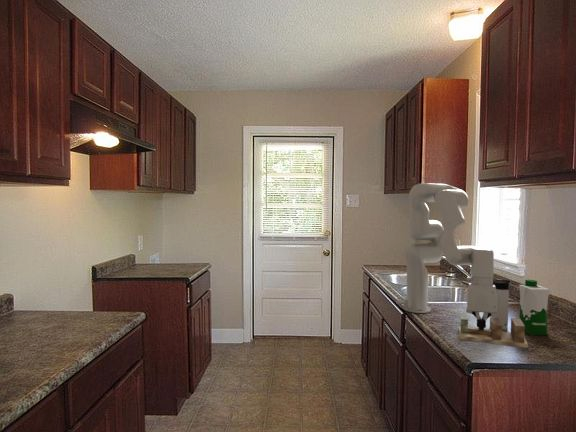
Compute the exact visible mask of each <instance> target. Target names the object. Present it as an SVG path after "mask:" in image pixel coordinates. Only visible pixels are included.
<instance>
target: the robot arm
mask: <svg viewBox="0 0 576 432" xmlns="http://www.w3.org/2000/svg"><path fill="white" fill-rule="evenodd" d="M469 201H470V200H469V196H468V194H467V193H466V192H465V191H464V190H463V189H460V188H458V187H455V186H452V185H449V184H446V183H427V182H425V183H424V182H423V183H417V184H415V185H413V186H412V188H411V189H410V191H409V194H408V202H409V209H410V210H409V211H410V212H409V213H410V215H409V236H410V238H411V239H412V240H415V241H427V242H414V243H410V244H409V245H407V246H406V248H405V249H404V253H405V254H404V255H405V256H404V257H405V262H406V263H405V264H406V296H405V299H401V298H400V299H399V298H397V299H396V304H398V305H402V310H404V311H406V312H408V313H409V312H410V313H413V314H414V313H415V314H427V313H430V312H432V311H431V310H432V308H431V307H430V306H428V294H429V289H428V288H429V271H428V269H427V267H426V265H425V264H431V263H432V264H433V263H434V264H435V263H438V262H439V261H441V259H442V257H443V255H444V257H445V260H446V261H447V263H449V264H450V265H452V266H470V267H471V270H470V273H471V274H470V276H467V277H466V281H469V282H470V283H468V287H467V292H466V293H467V295H466V308H465V312H466V313H468V314H470V315H473V316H474V317H475V319H476V328H479V330H481V329H482V330H483V331H484V329H487V320H488V319H490V316H495V315H497V292H496V287H495V285H493V281H494V261H495V259H494V251H493V250H492V249H490V248H485V247H484V248H483V247H480V246H479V247H478V246H476V245H475V246H474V245H457V244H456V242H455V238H454V237H455V236H454V234H455V233H454V232H455V231H456V230H457V229H459V228H460V227H462V226H464V225H465V222H466V219H465V217H464V215H463V211H462V210H464V209H466V208H467V207H468V205H469ZM427 203H435V206H436V209H437V213H438V214H439V217H440V219H441V222H440V221H438V220H435V219H430V209H429V207H428V205H427ZM442 224H443V225H442ZM480 313H482V317H481V316H480Z"/></svg>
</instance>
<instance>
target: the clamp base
mask: <svg viewBox="0 0 576 432" xmlns="http://www.w3.org/2000/svg"><path fill="white" fill-rule="evenodd" d="M460 326H461V325H460ZM460 326H458V332H459V339H460V340H467V341H473V342H479V343H480V342H481V343H488V344H494V345H495V344H496V345H504V346H510V347H511V346H512V347H518V348H525V349H526V348H527V349H528V348H529V344H528V341H527V339H526V338H525V334H526V332H525V326H524V324H523V323H522V321H521V319H519V318H515V317H511V318H510V332H508V331H505V332H502V336H501V339H494V338H492V336H491V335H487V334H479V333H471V332H468V333H465V332H461V329H460Z"/></svg>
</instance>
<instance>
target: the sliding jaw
mask: <svg viewBox="0 0 576 432" xmlns="http://www.w3.org/2000/svg"><path fill="white" fill-rule="evenodd" d="M460 329H461V332H465V333H468V332H471V333H479V334H487V335H491V336H492V338H494V339H501V336H502V325H501V323H500V320H499V318H492V317H489V328H484V331H483V330H482V329H481V330H479V327H475V326H474V327H473V326H469V317H468V316H465V315H461V316H460Z"/></svg>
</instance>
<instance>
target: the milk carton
mask: <svg viewBox="0 0 576 432" xmlns="http://www.w3.org/2000/svg"><path fill="white" fill-rule="evenodd" d="M524 283H525V284H519V285H518V286H519V318H518V319H521V321H522V323H523V324H524V326H525V334H527V335H531V336H535V335H536V336H542V335H543V336H548V303H549V302H548V299H549V295H550V292H551V289H550V288H547V287H546V286H541V285H538V280H534V279H525V281H524Z"/></svg>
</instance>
